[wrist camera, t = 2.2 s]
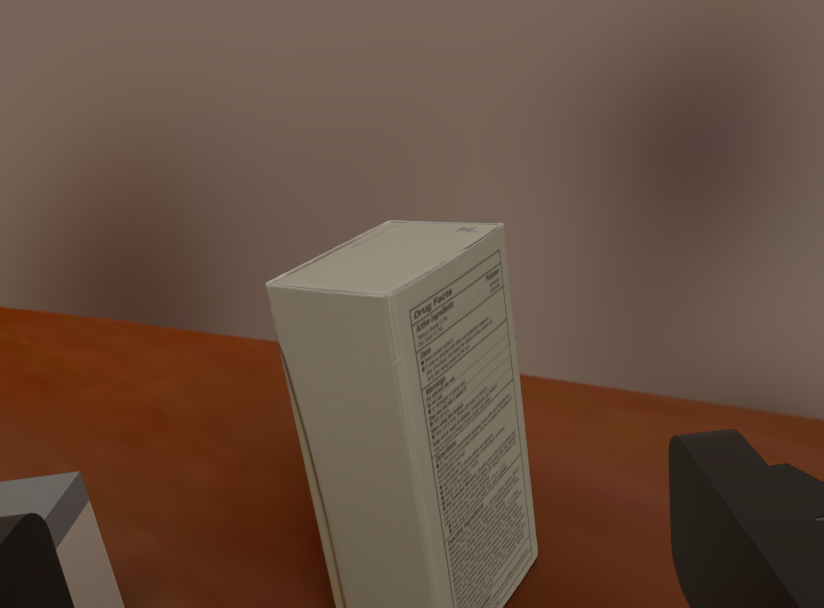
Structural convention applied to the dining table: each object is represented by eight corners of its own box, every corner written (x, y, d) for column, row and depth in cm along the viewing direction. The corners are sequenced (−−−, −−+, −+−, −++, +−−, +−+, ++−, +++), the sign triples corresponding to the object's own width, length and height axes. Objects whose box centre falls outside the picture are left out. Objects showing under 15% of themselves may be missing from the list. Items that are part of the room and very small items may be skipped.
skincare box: (438, 528, 29) (389, 217, 25) (546, 559, 27) (510, 218, 23) (334, 641, 25) (254, 279, 21) (454, 691, 22) (388, 289, 18)
